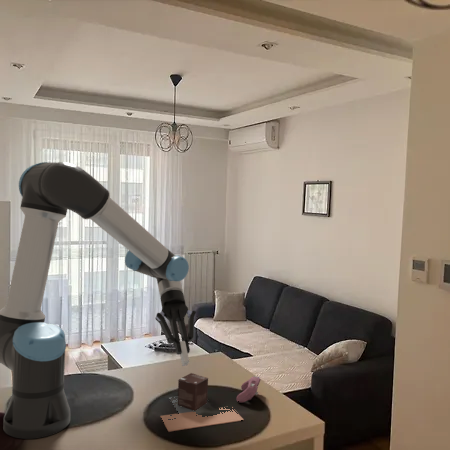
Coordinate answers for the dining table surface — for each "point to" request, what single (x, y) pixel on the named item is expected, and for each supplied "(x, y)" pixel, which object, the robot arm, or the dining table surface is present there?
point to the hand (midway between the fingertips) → (185, 363)
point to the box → (192, 391)
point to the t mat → (196, 418)
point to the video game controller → (248, 389)
